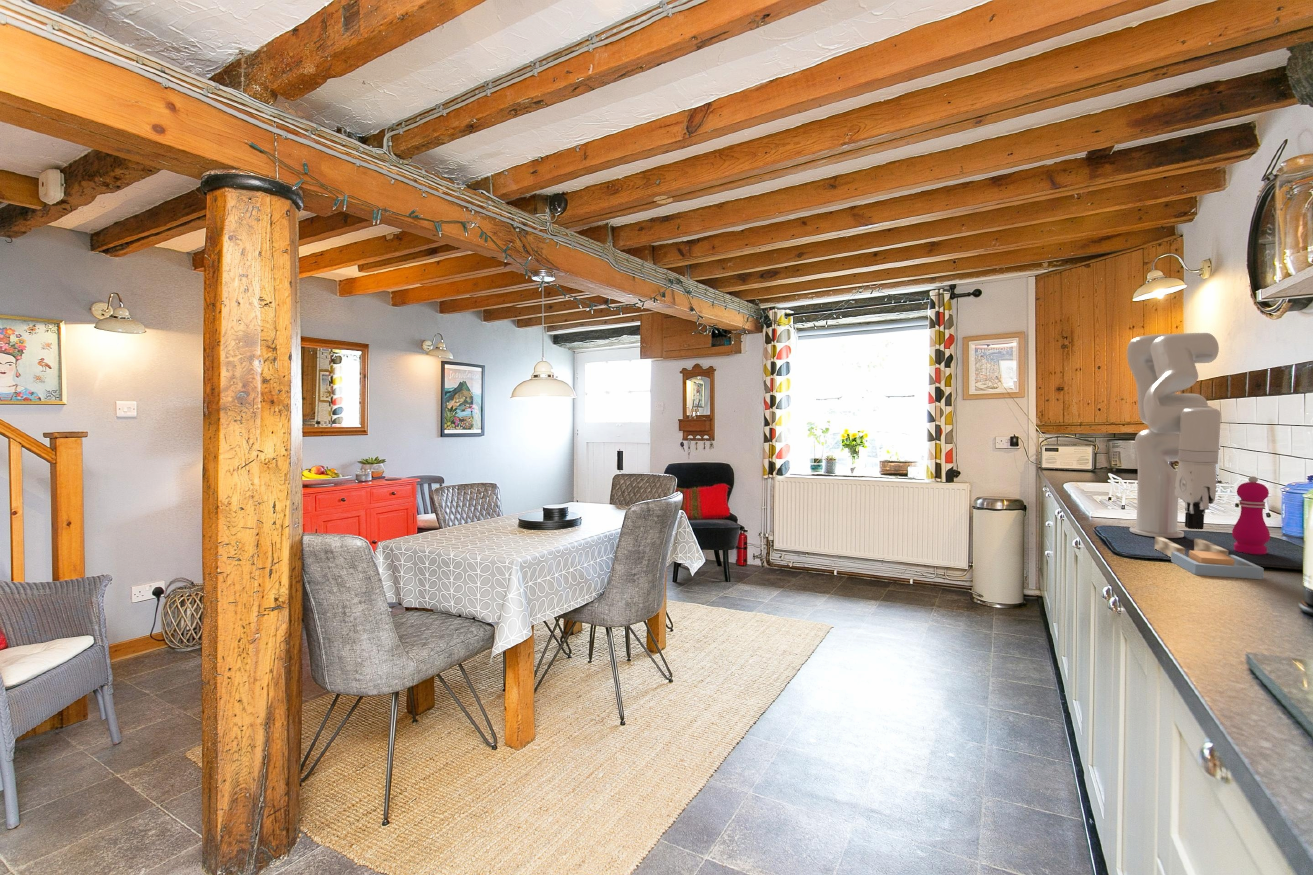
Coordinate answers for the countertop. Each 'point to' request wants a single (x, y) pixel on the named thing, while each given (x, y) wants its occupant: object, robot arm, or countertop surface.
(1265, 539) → the pepper mill
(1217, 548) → the pair of wooden slats
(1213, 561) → the block
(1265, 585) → the countertop surface
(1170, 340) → the robot arm
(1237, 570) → the bay
